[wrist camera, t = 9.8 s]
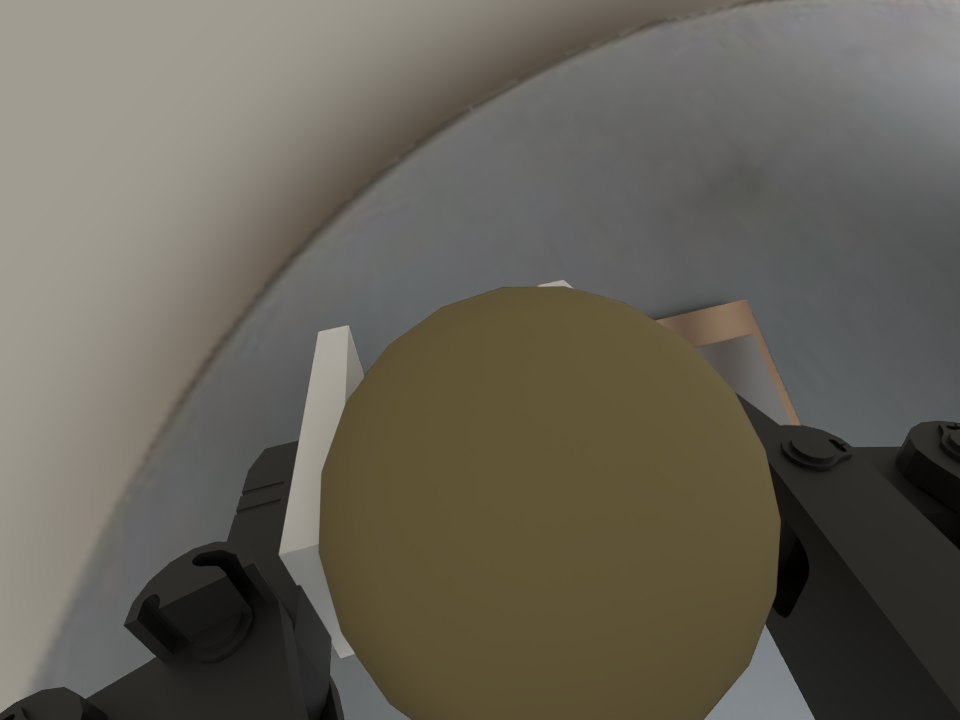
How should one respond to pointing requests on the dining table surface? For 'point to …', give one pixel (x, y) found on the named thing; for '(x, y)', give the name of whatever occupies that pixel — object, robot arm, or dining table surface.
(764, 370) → the brown frame
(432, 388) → the cork
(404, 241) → the dining table surface
